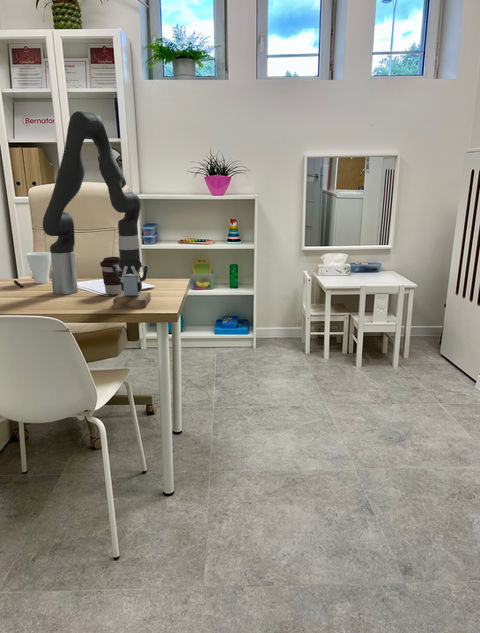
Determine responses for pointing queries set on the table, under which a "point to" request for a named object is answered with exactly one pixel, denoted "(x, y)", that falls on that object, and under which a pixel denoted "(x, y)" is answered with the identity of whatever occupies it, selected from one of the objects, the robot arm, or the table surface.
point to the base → (132, 300)
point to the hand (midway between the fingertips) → (131, 291)
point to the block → (130, 285)
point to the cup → (39, 266)
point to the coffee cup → (111, 275)
